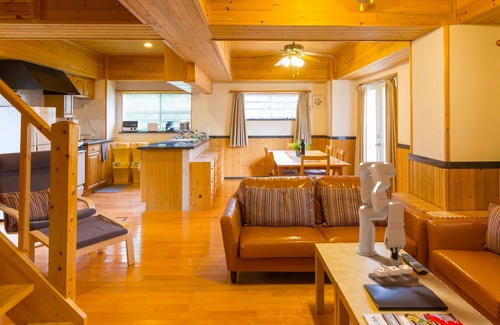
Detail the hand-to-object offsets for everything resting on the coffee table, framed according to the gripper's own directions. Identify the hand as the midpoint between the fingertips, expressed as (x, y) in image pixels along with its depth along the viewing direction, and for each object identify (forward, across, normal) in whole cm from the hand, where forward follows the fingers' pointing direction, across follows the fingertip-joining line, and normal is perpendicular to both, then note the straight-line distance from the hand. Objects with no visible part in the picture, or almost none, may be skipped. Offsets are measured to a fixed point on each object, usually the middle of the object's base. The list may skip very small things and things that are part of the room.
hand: (394, 259), depth 179 cm
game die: (+11, -13, -16) cm, 24 cm away
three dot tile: (+8, +7, -1) cm, 11 cm away
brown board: (+11, 0, -1) cm, 11 cm away
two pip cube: (+8, -8, -1) cm, 11 cm away
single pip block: (+8, 0, -1) cm, 8 cm away
